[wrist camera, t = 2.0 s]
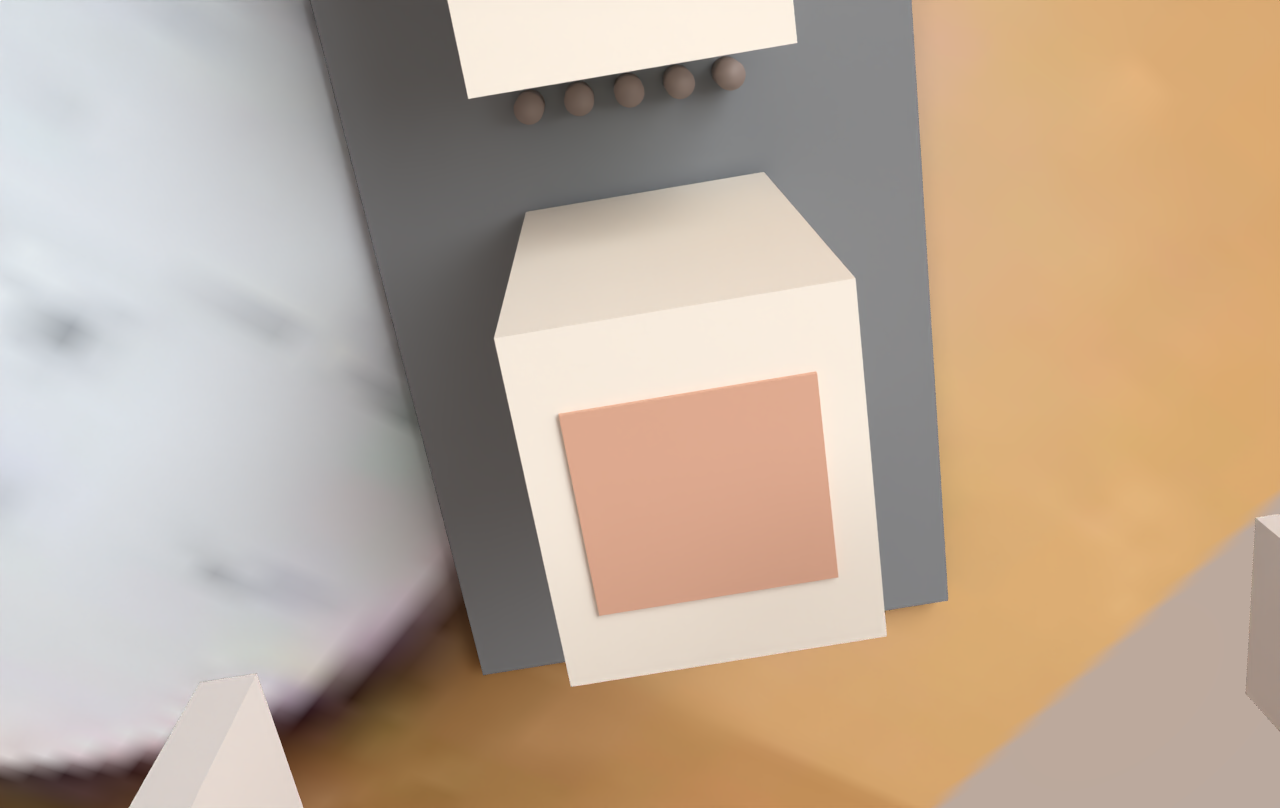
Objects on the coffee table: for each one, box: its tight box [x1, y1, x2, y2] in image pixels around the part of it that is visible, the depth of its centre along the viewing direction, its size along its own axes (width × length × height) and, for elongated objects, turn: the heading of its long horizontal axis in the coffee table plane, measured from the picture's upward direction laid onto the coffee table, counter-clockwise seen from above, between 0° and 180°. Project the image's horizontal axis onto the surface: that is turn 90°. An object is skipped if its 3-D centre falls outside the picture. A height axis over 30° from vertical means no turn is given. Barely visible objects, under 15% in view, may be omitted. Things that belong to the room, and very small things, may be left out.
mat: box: [310, 0, 948, 675], centre depth 27 cm, size 14×29×1 cm, turn 9°
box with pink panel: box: [494, 172, 887, 687], centre depth 24 cm, size 6×7×10 cm
